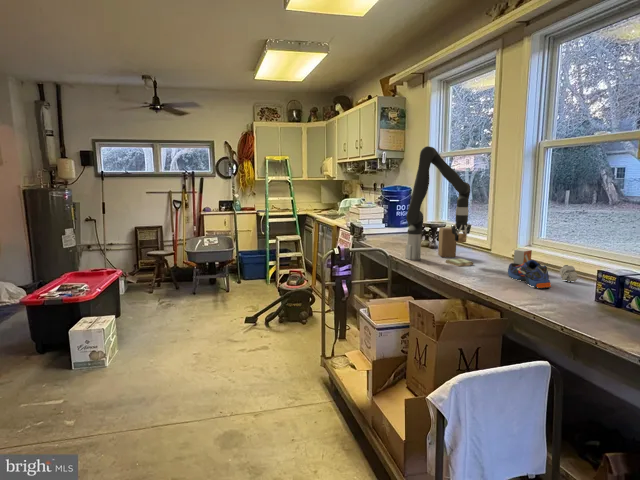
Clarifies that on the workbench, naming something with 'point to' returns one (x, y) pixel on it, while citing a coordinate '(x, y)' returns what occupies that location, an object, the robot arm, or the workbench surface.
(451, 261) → the pad
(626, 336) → the workbench surface
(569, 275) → the beige lumpy piece
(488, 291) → the workbench surface
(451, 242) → the wooden block
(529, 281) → the running shoe
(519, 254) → the small box
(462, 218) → the robot arm
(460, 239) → the oak cube
